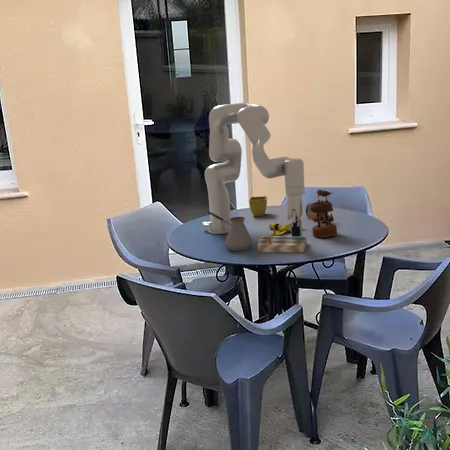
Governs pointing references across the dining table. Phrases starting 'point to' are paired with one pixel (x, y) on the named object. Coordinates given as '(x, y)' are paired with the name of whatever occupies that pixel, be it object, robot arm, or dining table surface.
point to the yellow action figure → (280, 228)
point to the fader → (300, 232)
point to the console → (281, 244)
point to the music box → (319, 208)
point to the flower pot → (258, 205)
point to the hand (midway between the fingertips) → (296, 234)
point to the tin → (312, 215)
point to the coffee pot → (236, 234)
